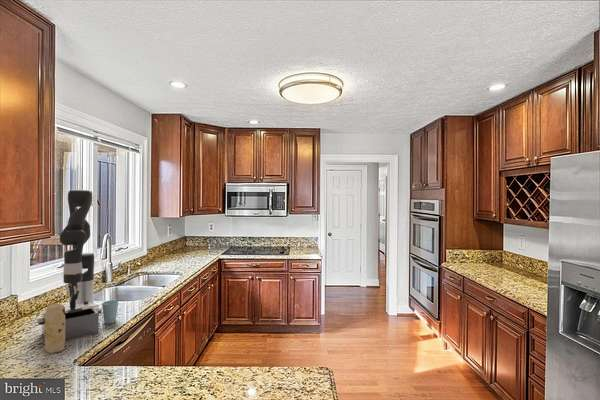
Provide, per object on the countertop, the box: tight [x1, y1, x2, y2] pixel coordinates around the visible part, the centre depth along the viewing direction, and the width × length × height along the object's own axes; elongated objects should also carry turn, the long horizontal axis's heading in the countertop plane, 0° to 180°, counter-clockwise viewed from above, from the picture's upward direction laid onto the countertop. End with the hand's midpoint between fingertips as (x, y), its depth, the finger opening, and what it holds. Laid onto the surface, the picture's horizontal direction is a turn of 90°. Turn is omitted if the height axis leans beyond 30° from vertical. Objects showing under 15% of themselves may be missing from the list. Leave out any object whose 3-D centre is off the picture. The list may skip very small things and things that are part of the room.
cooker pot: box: [36, 307, 103, 342], centre depth 171 cm, size 18×26×10 cm
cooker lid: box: [41, 301, 100, 314], centre depth 170 cm, size 21×20×2 cm
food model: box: [44, 302, 66, 354], centre depth 152 cm, size 10×7×20 cm
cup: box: [101, 299, 119, 324], centre depth 188 cm, size 8×8×10 cm
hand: (72, 308), depth 168 cm, fingers closed
